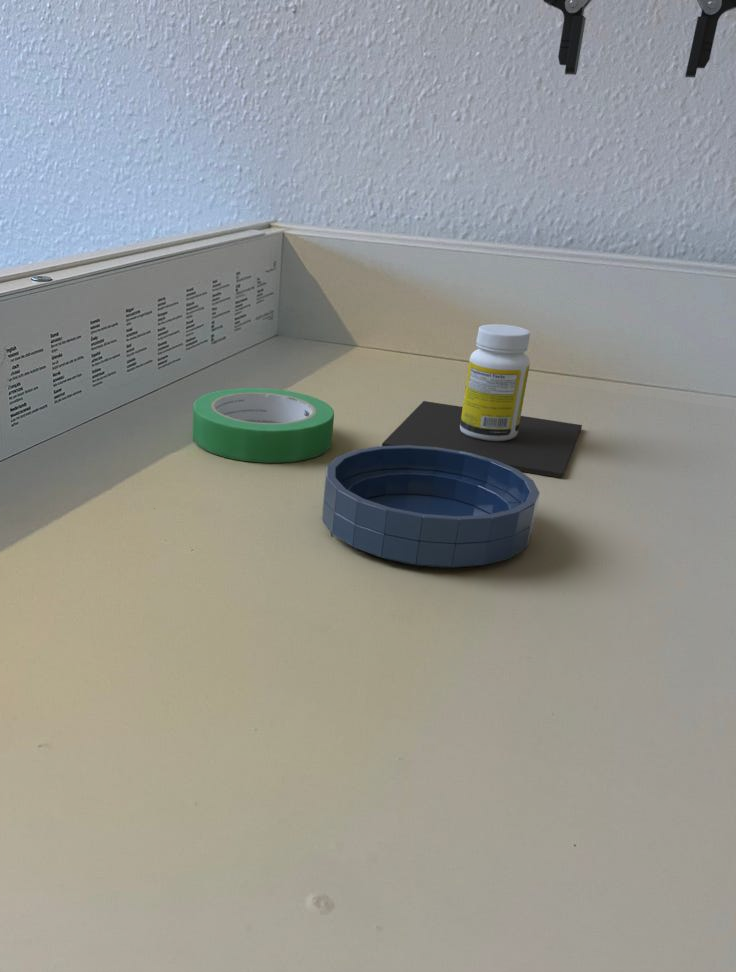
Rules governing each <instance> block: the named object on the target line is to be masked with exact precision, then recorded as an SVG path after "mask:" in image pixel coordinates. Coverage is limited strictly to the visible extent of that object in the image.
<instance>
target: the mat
mask: <svg viewBox="0 0 736 972" xmlns="http://www.w3.org/2000/svg"><path fill="white" fill-rule="evenodd" d="M462 408H463V406H460V405H454V404H447V403H440V402H434V401H426V400H423V401H422V402H421V403H420V404H419V405H418V406H417V407H416V408H415V409H414V410H413V411H412V412H411V413H410V414H409V415H408V417H406V418H405V420H403V421H402V423H400V425H399V426H397V427H396V429H395V430H393V432H392V433H391V434H390V435H388V437H387V438H386V439H385V440H384V441H383V442H382V444H381V446H401V445H407V446H408V445H412V446H427V447H438V448H445V449H451V450H457V451H463V452H468V453H472V454H476V455H479V456H483V457H487V458H490V459H494V460H497V461H499V462H502V463H504V464H506V465H508V466H511V467H513V468H515V469H518V470H519V471H521V472H522V473H527V474H528V473H529V474H533V475H540V476H544V477H545V476H546V477H552V478H556V479H557V478H558V479H563V477H564V474H565V472H566V469H567V466H568V464H569V462H570V460H571V457H572V455H573V451H574V448H575V446H576V444H577V441H578V439H579V436H580V433H581V431H582V427H583V425H582V424H577V423H572V422H566V421H559V420H551V419H545V418H538V417H532V416H525V415H521V417H520V423H519V429H518V433H517V435H516V436H515V437H514V438H512V439H510V440H506V441H486V440H480V439H476V438H473V437H469V436H467V435H465V434H463V433H462V432H461V430H460V422H461V415H462Z"/></svg>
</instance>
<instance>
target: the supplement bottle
mask: <svg viewBox="0 0 736 972" xmlns="http://www.w3.org/2000/svg"><path fill="white" fill-rule="evenodd" d="M530 338H531V331H530V330H528V329H526V328H524V327H520V326H517V325H512V324H502V323H490V324H483V325H480V326H479V327H478V331H477V335H476V340H475V342H476V343H475V346H476V347H477V348H478V349H475V350H474V351H472V353H471V354H470V357H469V361H468V367H467V374H466V375H467V376H466V381H465V389H464V394H463V395H464V396H463V403H462V407H463V408H462V415H461V422H460V430H461V432H462V433H463V434H465V435H467V436H469V437H473V438H476V439H480V440H486V441H506V440H510V439H512V438H514V437H515V436H516V435H517V433H518V429H519V423H520V417H521V416H522V410H523V404H524V401H525V400H524V399H525V393H526V388H527V382H528V378H529V377H528V376H529V371H530V367H531V363H530V362H531V361H530V358H529V356H528V355H527V354H526V353H525V352H527V351H528V349H529V348H528V347H529V345H530V344H529V342H530Z"/></svg>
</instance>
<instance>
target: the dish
mask: <svg viewBox="0 0 736 972" xmlns="http://www.w3.org/2000/svg"><path fill="white" fill-rule="evenodd" d="M324 478H325V479H324V490H323V501H322V516H321V517H322V519H321V520H322V523H323V524H324V526H325V527H326V528H327V529H328V531H329V532H330V533H331V535H333V536H334V537H335V538H337V539H339V540H340V541H343V543H346V544H347V545H349V546H351V547H352V548H355V549H358V550H360V551H363V552H364V553H367V554H370V555H373V556H374V557H377V558H381V559H384V560H388V561H392V562H396V563H400V564H405V565H412V566H416V567H417V566H418V567H424V568H425V567H427V568H439V569H440V568H442V569H443V568H445V569H452V568H453V569H455V568H468V567H469V568H470V567H477V566H484V565H485V566H486V565H489V564H490V565H491V564H493V563H498V562H502V561H507V560H510V559H512V558H513V557H515V556H516V555H518V554H520V553H521V552H523V551H524V550H526V549H527V547H528V545H529V542H530V540H531V537H532V533H533V528H534V524H535V523H534V522H535V519H536V514H537V509H538V503H539V499H540V491H539V489H538V487H537V484H536V483H535V481H534V480H533V479H532V478H530V477H529V476H528V475H526V474H525V473H524V472H521V471H519V470H518V469H515V468H513V467H511V466H508V465H506V464H504V463H502V462H499V461H497V460H494V459H490V458H487V457H483V456H479V455H476V454H472V453H468V452H463V451H457V450H451V449H445V448H438V447H427V446H412V445H408V446H407V445H401V446H382V445H381V446H380V445H377V446H372V447H364V448H358V449H354V450H351V451H348V452H346V453H344V454H341V455H338V456H336V457H335V458H334V459H333V460H332V461H330V462H329V464H327V466H326V468H325V477H324Z"/></svg>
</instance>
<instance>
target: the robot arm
mask: <svg viewBox="0 0 736 972" xmlns="http://www.w3.org/2000/svg"><path fill="white" fill-rule="evenodd" d="M542 1H543V2H544V3H546V5H548V6H549V7H553V8H555V9H557V10H559V11H560V12H562V14H563V22H562V29H561V36H560V37H561V38H560V42H559V50H558V56H557V58H558V63H559V65H560V66H565V68H564V75H570V76H571V75H572V76H573V75H574V76H576V75H577V73H578V67H579V62H580V55H581V51H582V44H583V38H584V32H585V25H586V20H587V17H585V14H584V13H585V10H586V8H587V7H588V6H589V5H590V3H591V2H592V1H593V0H542ZM696 1H697V4H698V6H699V8H700V10H701V14H700V16H699V15H698V16H697V18H696V19H697V20H696V24H695V28H694V34H693V38H692V43H691V47H690V53H689V57H688V62H687V66H686V71H685V76H684V77H685V78H692V79H693V78H696V75H697V71H698V69H705V68H706V67H707V64H708V63H709V62H710V60H711V59H710V58H711V54H712V50H713V45H714V41H715V36H716V32H717V27H718V22H719V20H720V18H721V17H722V16H723V15H724V14H725V13H727V12H729V11H732V10H735V9H736V0H696Z"/></svg>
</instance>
